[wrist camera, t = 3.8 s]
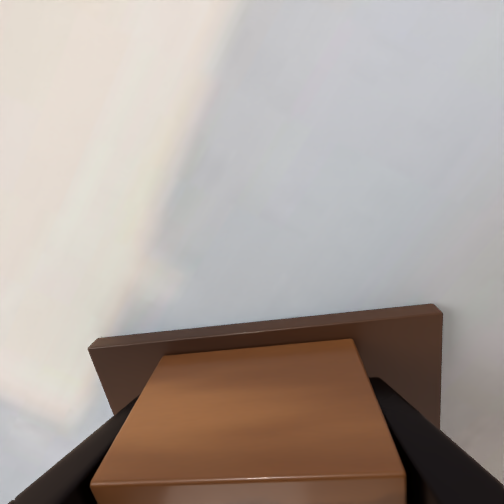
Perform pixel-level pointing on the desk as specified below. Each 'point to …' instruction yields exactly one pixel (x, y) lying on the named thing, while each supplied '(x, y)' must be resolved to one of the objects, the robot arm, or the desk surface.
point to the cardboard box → (255, 432)
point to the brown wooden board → (290, 332)
